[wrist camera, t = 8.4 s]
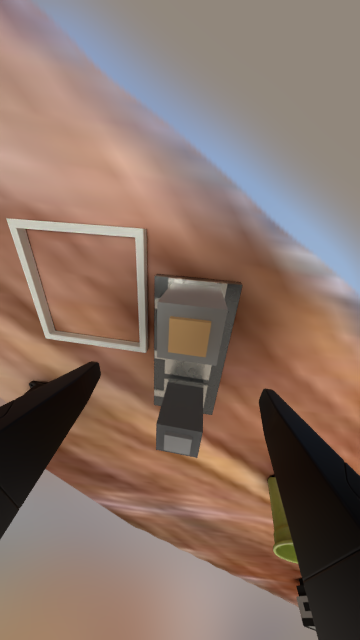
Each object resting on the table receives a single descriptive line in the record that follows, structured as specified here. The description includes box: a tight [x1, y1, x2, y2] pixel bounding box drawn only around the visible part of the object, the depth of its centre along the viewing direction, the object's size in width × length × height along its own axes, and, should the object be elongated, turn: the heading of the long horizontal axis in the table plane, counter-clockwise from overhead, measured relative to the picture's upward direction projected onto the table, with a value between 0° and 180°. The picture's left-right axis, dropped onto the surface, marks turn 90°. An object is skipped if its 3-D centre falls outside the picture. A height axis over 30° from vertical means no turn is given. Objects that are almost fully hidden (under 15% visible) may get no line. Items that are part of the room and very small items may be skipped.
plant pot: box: [268, 477, 298, 564], centre depth 29 cm, size 9×9×9 cm
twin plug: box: [156, 382, 203, 458], centre depth 22 cm, size 5×5×6 cm
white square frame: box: [6, 218, 148, 353], centre depth 21 cm, size 15×15×1 cm
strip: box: [154, 274, 242, 415], centre depth 22 cm, size 20×9×1 cm, turn 176°
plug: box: [157, 283, 228, 366], centre depth 16 cm, size 5×5×6 cm
